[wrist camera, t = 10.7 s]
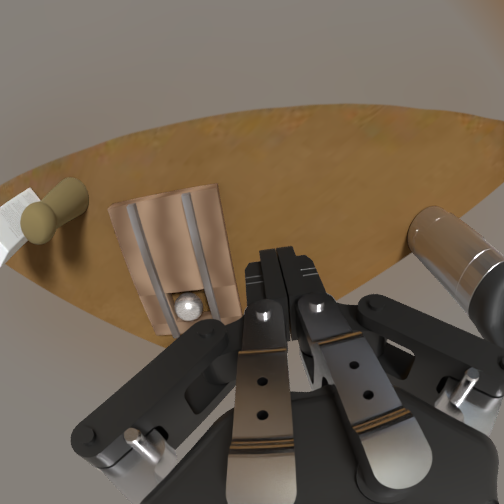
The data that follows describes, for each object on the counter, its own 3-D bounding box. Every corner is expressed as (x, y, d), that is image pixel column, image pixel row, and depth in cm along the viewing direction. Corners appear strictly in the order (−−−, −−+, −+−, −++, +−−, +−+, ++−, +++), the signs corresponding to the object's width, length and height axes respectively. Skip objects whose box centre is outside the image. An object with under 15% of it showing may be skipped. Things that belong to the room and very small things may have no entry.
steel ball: (207, 318, 45) (202, 291, 46) (203, 318, 41) (197, 288, 42) (180, 323, 45) (175, 296, 46) (174, 323, 40) (168, 294, 41)
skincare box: (20, 203, 35) (-25, 237, 24) (30, 186, 34) (-18, 217, 23) (41, 229, 37) (0, 269, 27) (53, 213, 36) (9, 251, 26)
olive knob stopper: (78, 223, 38) (41, 261, 28) (50, 200, 35) (9, 232, 26) (95, 193, 36) (56, 226, 26) (66, 169, 33) (21, 194, 24)
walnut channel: (217, 183, 36) (216, 190, 34) (243, 318, 48) (244, 331, 45) (112, 203, 37) (104, 211, 34) (158, 327, 48) (155, 339, 45)
